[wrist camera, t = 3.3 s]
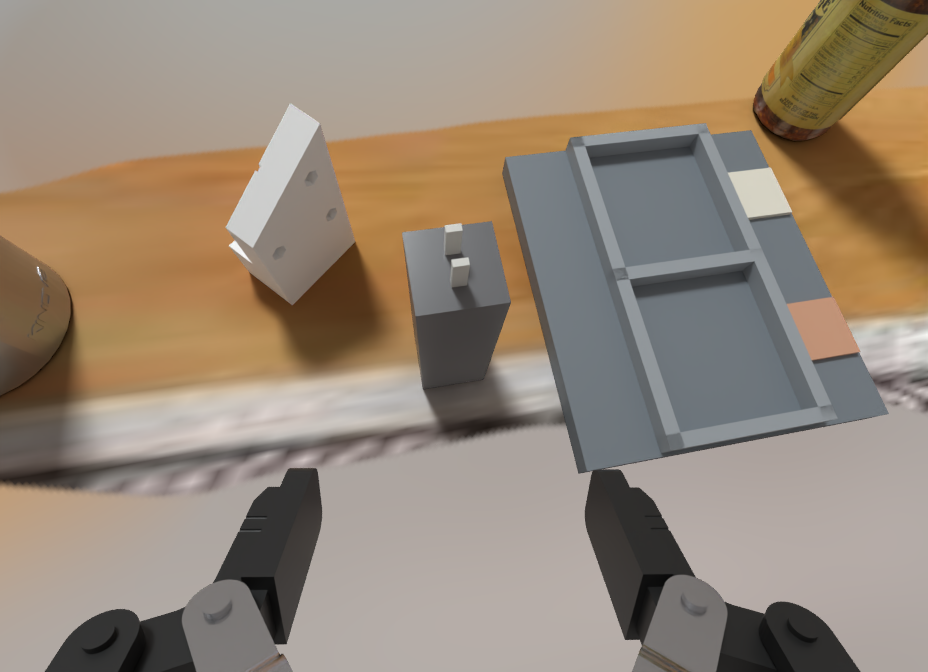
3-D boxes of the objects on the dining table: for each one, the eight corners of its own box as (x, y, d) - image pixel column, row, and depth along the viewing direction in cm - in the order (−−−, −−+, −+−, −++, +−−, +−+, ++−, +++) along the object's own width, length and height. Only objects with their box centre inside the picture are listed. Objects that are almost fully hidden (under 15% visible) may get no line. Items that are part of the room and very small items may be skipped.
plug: (422, 389, 28) (413, 297, 16) (413, 332, 29) (399, 208, 17) (483, 379, 28) (517, 283, 16) (472, 323, 29) (496, 196, 18)
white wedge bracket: (395, 173, 30) (319, 123, 22) (318, 305, 32) (221, 306, 24) (351, 144, 31) (261, 83, 22) (278, 274, 33) (170, 265, 24)
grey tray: (578, 473, 27) (594, 469, 24) (502, 173, 33) (507, 144, 31) (865, 419, 29) (908, 409, 26) (737, 146, 36) (761, 117, 33)
